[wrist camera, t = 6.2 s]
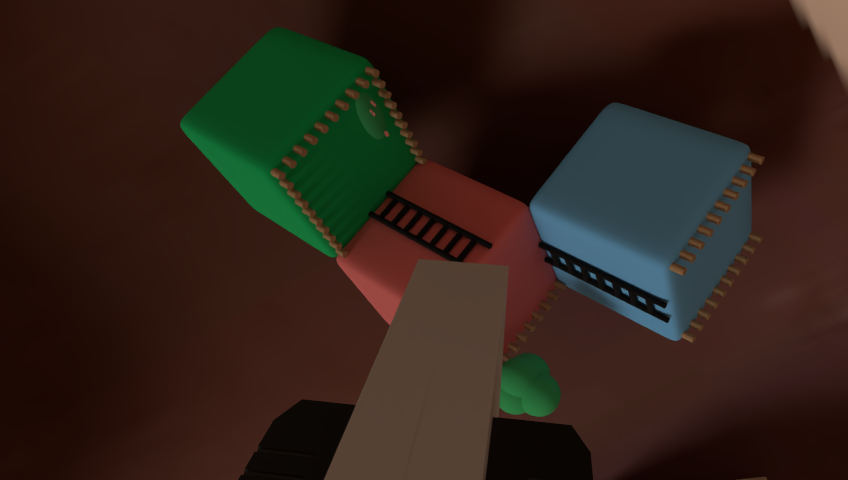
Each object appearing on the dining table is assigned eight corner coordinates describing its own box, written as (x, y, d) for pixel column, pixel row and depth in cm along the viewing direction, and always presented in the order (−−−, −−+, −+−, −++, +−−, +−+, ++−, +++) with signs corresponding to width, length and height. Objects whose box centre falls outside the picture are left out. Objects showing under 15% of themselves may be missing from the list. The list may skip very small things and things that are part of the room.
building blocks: (449, 113, 27) (766, 238, 20) (305, 280, 25) (601, 483, 18) (362, -70, 21) (771, 17, 14) (164, 129, 19) (526, 346, 12)
